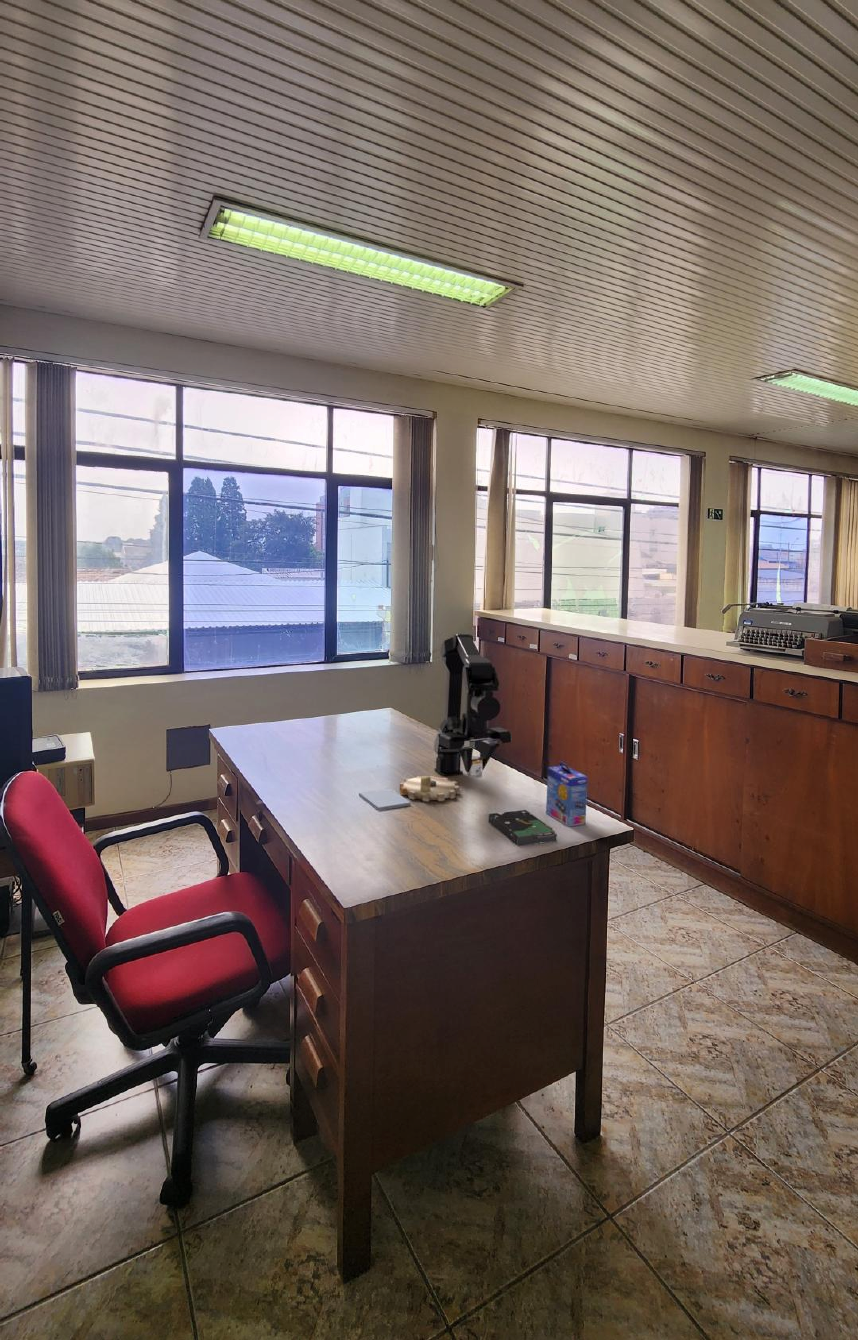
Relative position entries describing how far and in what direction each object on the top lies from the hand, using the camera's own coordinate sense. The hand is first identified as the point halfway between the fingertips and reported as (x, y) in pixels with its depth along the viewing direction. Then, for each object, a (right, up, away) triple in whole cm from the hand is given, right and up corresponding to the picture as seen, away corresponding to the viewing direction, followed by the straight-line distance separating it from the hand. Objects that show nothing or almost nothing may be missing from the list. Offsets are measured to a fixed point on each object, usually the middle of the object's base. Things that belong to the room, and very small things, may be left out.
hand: (474, 770), depth 171 cm
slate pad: (-23, -8, +3) cm, 25 cm away
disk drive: (+10, -13, -14) cm, 21 cm away
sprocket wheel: (-12, -7, +11) cm, 18 cm away
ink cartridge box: (+22, -11, -5) cm, 25 cm away
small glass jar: (0, -1, 0) cm, 1 cm away
